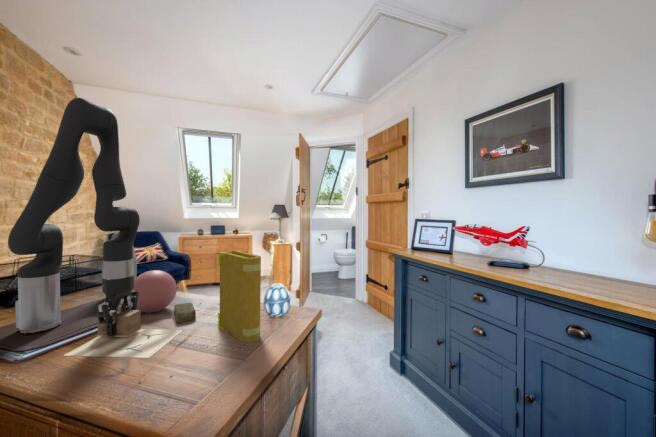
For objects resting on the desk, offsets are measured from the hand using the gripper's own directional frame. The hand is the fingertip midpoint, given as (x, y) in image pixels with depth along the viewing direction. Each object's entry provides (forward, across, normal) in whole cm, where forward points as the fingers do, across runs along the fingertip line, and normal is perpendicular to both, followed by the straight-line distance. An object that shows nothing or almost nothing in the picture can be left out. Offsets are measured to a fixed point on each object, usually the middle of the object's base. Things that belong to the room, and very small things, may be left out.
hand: (119, 331), depth 83 cm
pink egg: (+3, -24, -6) cm, 25 cm away
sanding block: (0, 0, 0) cm, 1 cm away
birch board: (+2, +4, +6) cm, 8 cm away
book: (+3, -7, +34) cm, 35 cm away
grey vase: (+3, -41, -30) cm, 51 cm away
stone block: (+3, -15, +12) cm, 19 cm away
